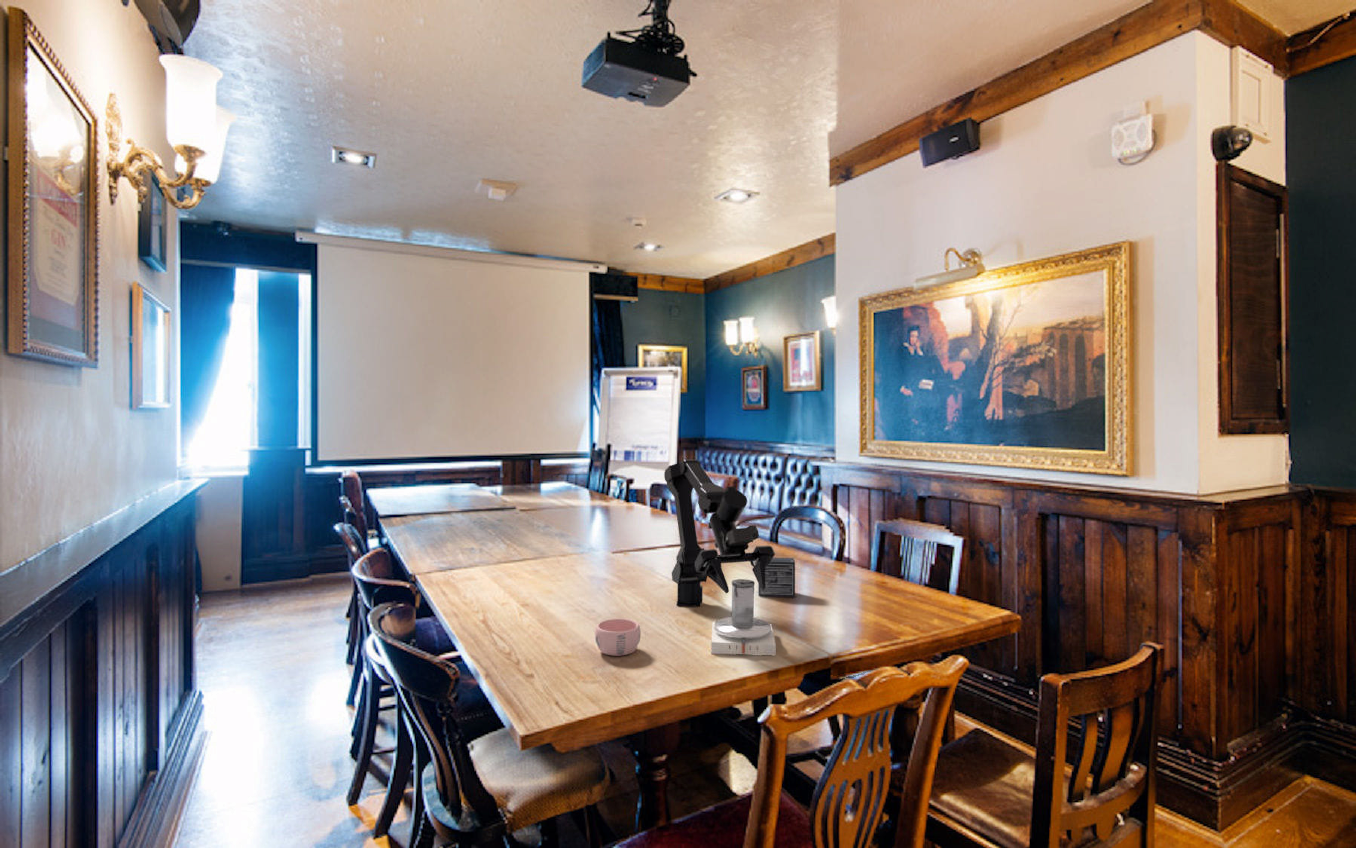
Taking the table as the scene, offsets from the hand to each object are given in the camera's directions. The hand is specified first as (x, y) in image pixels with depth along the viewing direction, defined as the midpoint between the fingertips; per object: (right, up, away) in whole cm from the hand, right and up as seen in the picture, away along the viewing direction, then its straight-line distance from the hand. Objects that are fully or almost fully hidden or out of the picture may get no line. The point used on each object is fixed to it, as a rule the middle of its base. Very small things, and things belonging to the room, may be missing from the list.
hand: (745, 590), depth 147 cm
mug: (-29, -13, -3) cm, 32 cm away
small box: (+13, -12, +43) cm, 46 cm away
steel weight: (-1, -8, +1) cm, 9 cm away
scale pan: (-1, -12, +1) cm, 12 cm away
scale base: (-1, -13, +1) cm, 13 cm away
